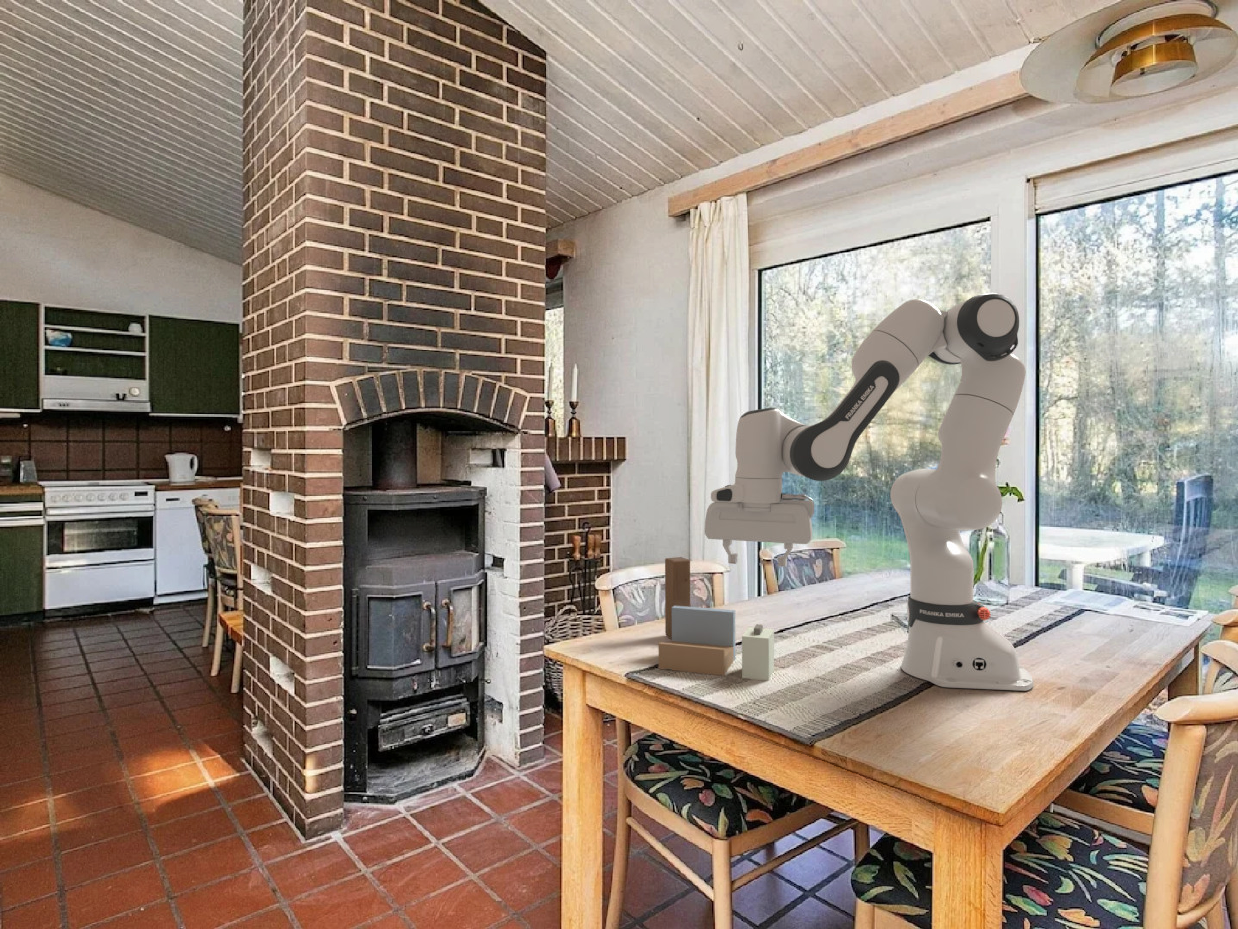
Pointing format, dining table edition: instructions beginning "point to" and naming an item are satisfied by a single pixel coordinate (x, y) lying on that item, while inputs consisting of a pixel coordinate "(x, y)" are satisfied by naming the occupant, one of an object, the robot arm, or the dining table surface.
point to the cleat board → (700, 641)
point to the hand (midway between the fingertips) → (757, 564)
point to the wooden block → (676, 588)
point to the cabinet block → (758, 653)
